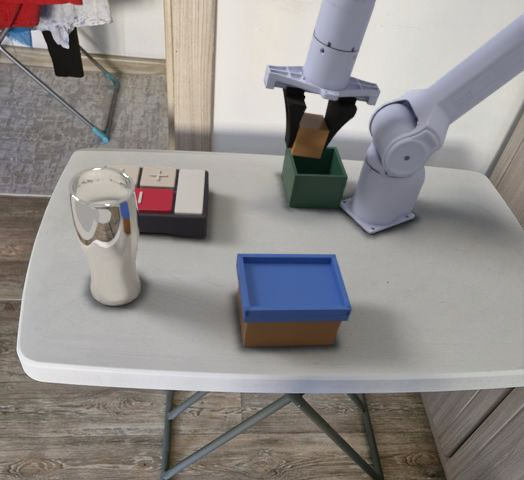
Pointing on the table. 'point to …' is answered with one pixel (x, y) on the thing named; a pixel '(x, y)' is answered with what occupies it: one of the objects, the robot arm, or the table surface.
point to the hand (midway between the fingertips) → (303, 146)
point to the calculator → (170, 199)
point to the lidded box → (290, 299)
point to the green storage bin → (314, 179)
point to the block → (310, 136)
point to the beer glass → (107, 231)
